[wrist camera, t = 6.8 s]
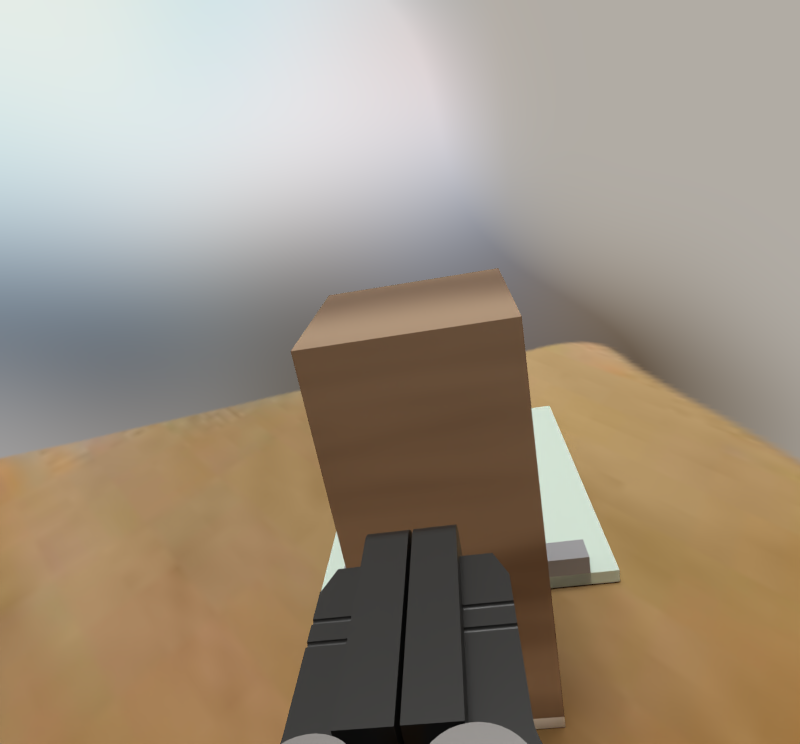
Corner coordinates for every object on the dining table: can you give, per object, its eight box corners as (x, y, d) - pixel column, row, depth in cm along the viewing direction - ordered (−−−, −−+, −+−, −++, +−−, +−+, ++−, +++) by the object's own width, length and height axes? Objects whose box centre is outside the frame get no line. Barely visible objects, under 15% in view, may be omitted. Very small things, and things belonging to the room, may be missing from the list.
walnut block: (565, 726, 17) (521, 316, 12) (389, 739, 17) (290, 351, 13) (537, 598, 21) (498, 268, 17) (399, 611, 22) (329, 295, 18)
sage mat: (620, 581, 21) (618, 553, 21) (321, 610, 23) (314, 585, 22) (550, 413, 34) (548, 394, 34) (363, 438, 36) (359, 420, 35)
